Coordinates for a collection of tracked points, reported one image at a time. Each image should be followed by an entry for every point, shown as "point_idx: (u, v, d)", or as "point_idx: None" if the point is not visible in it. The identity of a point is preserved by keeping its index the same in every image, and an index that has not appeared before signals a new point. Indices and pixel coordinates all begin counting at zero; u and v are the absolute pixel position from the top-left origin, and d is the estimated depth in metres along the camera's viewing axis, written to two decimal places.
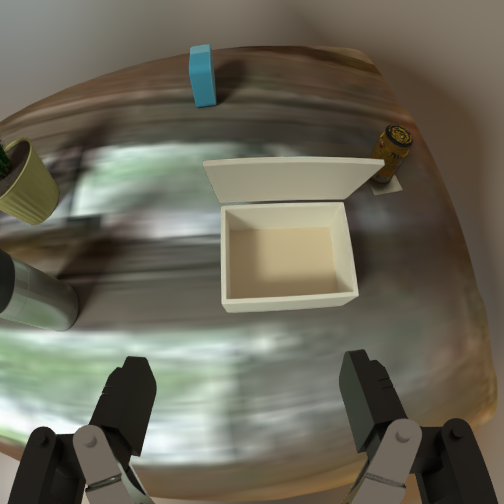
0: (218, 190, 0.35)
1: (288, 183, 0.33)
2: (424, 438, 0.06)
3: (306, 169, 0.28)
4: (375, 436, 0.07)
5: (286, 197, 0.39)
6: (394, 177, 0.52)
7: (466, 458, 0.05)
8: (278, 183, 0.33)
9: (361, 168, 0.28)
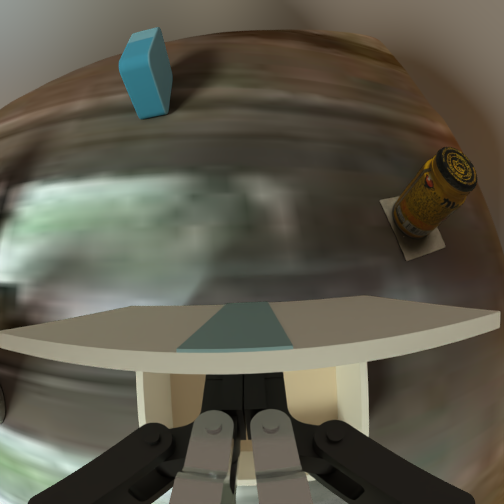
0: None
1: None
2: (301, 435, 0.07)
3: None
4: (251, 423, 0.08)
5: None
6: None
7: (362, 455, 0.06)
8: None
9: None
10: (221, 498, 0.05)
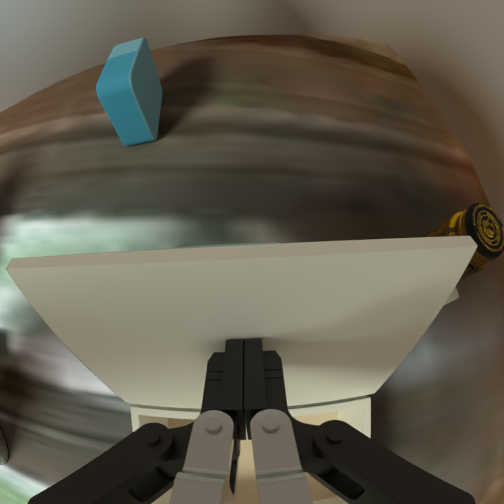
0: (95, 369, 0.14)
1: None
2: (301, 434, 0.07)
3: (264, 300, 0.10)
4: (251, 423, 0.08)
5: None
6: None
7: (362, 455, 0.06)
8: None
9: (424, 276, 0.09)
10: (221, 498, 0.05)
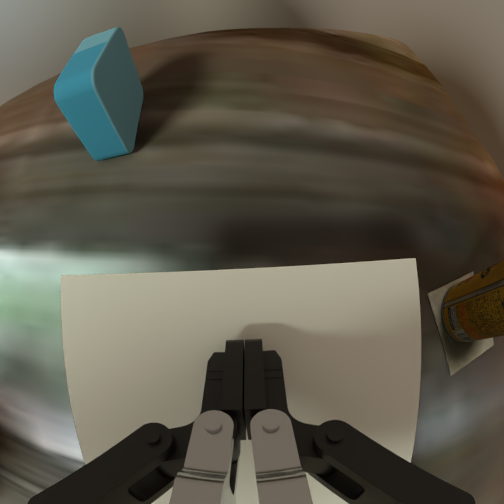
0: (82, 425, 0.11)
1: None
2: (301, 434, 0.07)
3: (257, 312, 0.12)
4: (251, 423, 0.08)
5: None
6: None
7: (362, 455, 0.06)
8: None
9: (381, 289, 0.13)
10: (221, 498, 0.05)
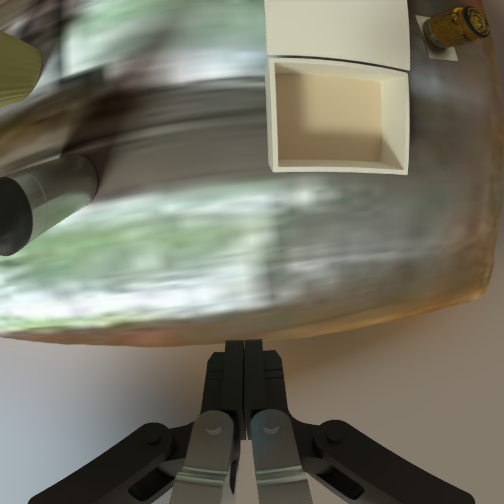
0: (270, 9, 0.23)
1: (340, 3, 0.22)
2: (301, 434, 0.07)
3: None
4: (251, 423, 0.08)
5: (346, 48, 0.26)
6: None
7: (362, 455, 0.06)
8: (330, 1, 0.22)
9: None
10: (221, 498, 0.05)
